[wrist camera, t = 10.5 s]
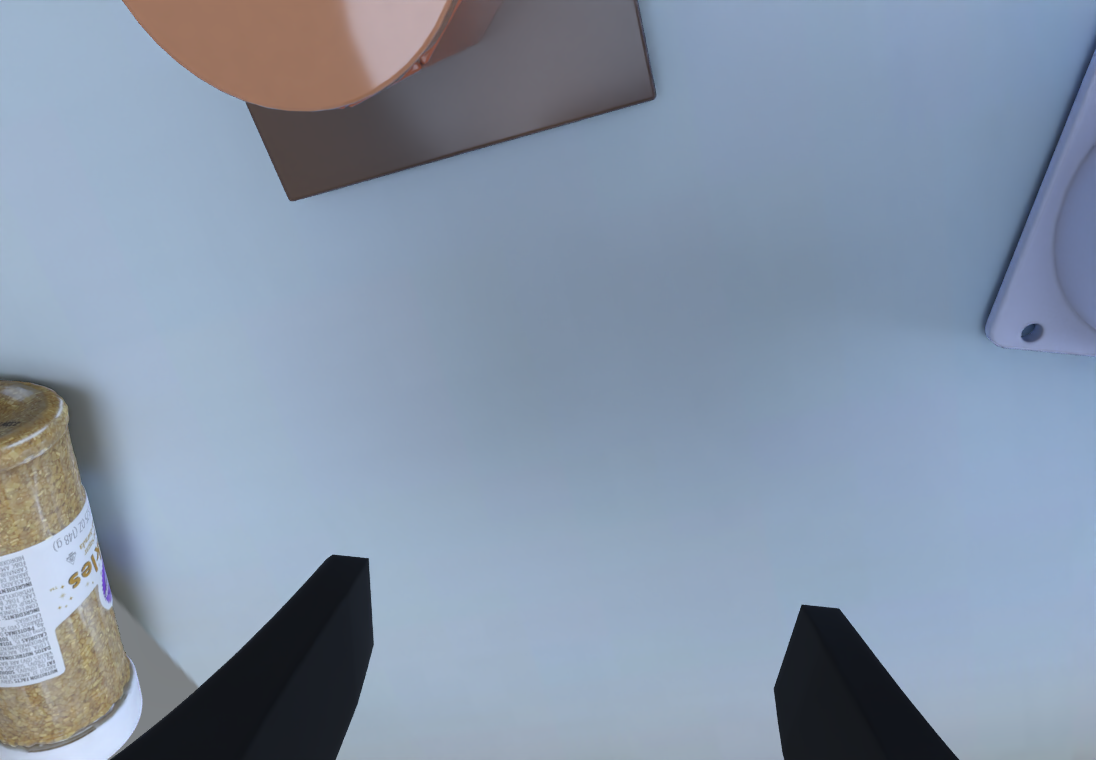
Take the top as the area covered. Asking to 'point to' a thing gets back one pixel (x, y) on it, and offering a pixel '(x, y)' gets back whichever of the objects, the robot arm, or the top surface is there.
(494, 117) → the peg stand
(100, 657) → the sprinkles bottle
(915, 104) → the top surface
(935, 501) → the top surface
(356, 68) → the brown wooden cylinder
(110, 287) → the top surface
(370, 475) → the top surface
